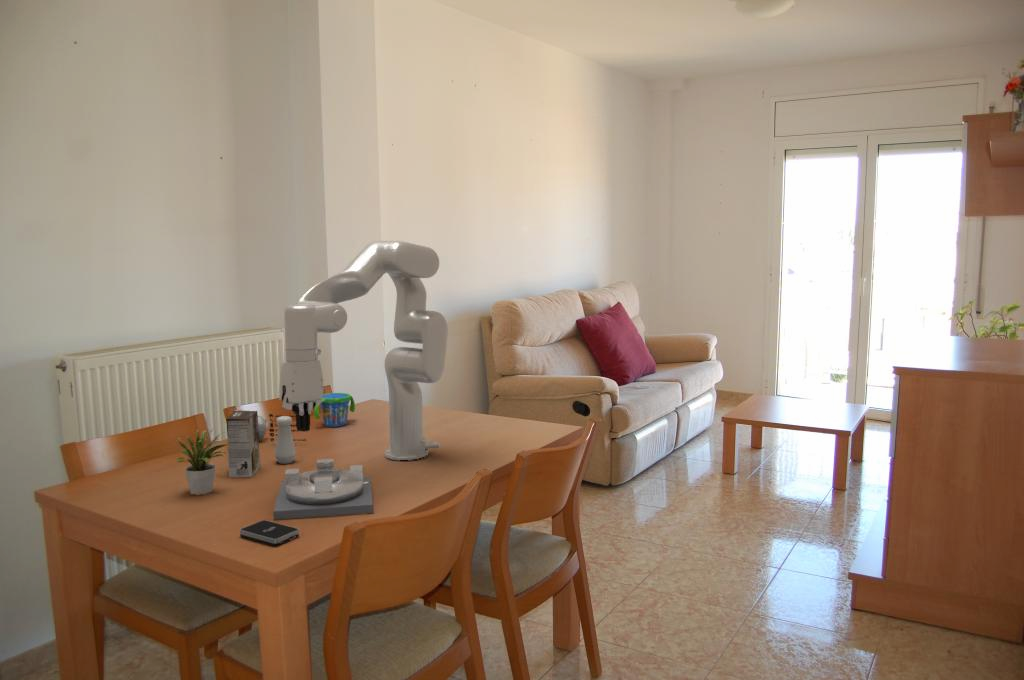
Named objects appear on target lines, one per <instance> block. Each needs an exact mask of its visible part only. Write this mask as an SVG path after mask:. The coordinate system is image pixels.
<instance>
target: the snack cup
mask: <svg viewBox="0 0 1024 680" xmlns="http://www.w3.org/2000/svg"><path fill="white" fill-rule="evenodd" d="M349 404H350V405H349ZM355 404H356V403H355V399H354V397H353V396H351V394H349V393H347V392H346V393H345V392H329V393H328V392H327V393H323V397H322V403H321V404H319V405H316V406H315V407H314V409H313V416H314V418H315V419H317V420H319V419H320V418H321V417H320V411H321V416H322V421H323V422H322V423H323V424H324V426H325V427H329V428H336V427H337V428H338V427H342V426H345V425H347V423H348V416H349V411H350V412H351V413H354V412H355V410H356V405H355Z"/></svg>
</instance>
